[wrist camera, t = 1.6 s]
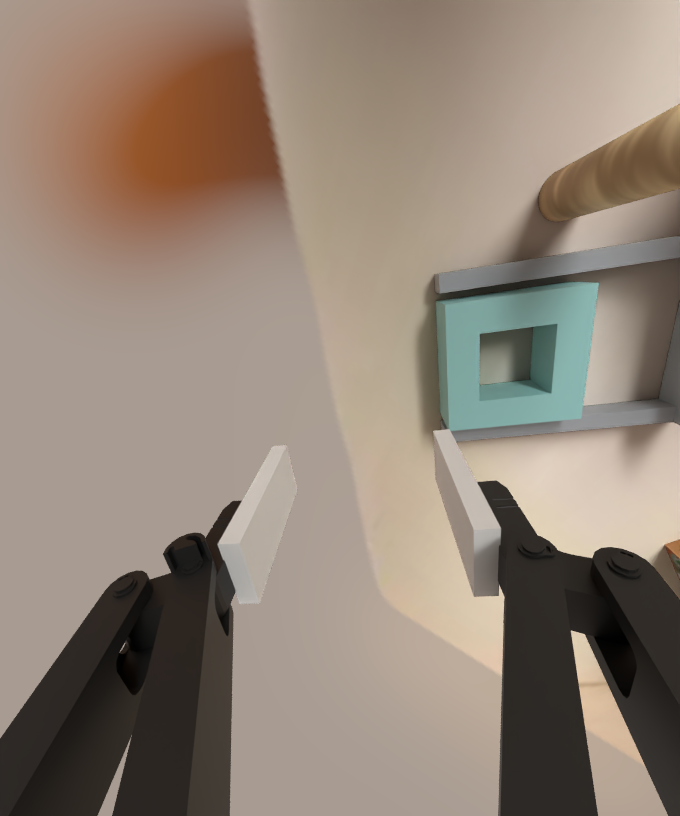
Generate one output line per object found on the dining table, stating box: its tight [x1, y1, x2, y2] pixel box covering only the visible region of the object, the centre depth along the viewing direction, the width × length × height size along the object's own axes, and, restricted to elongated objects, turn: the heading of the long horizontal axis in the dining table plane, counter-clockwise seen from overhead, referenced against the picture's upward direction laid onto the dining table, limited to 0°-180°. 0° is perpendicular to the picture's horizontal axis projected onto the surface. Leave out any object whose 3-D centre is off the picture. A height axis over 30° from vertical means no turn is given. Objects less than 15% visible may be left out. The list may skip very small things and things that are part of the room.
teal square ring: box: [436, 282, 599, 431], centre depth 29 cm, size 11×11×4 cm
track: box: [434, 236, 680, 442], centre depth 27 cm, size 16×22×6 cm
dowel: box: [538, 104, 680, 222], centre depth 19 cm, size 4×4×14 cm
